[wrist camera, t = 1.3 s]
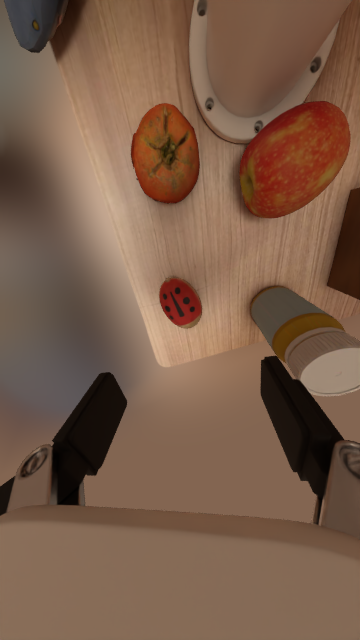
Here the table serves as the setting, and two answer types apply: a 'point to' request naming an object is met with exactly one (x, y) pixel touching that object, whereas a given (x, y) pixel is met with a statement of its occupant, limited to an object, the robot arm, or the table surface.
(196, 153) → the tomato
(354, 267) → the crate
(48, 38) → the toy
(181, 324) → the ladybug figurine
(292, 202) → the apple
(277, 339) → the bottle
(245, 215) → the table surface
